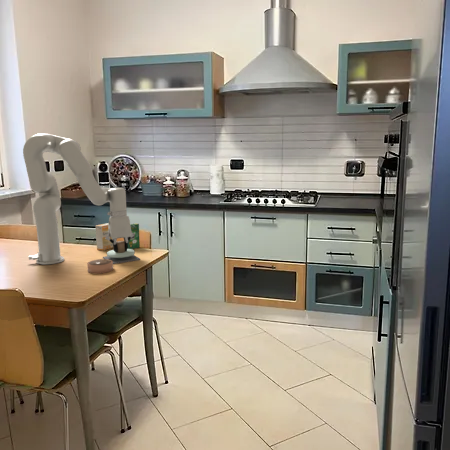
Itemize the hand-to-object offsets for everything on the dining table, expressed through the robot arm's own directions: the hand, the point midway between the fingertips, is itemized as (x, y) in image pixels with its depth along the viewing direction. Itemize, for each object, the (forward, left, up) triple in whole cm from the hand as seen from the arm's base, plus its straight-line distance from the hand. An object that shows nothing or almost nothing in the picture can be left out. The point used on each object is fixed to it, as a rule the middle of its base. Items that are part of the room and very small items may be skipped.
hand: (120, 250), depth 228 cm
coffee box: (+12, +17, -4) cm, 21 cm away
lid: (0, 0, -2) cm, 2 cm away
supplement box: (0, +25, -4) cm, 25 cm away
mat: (0, 0, -4) cm, 4 cm away
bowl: (-14, -13, -4) cm, 19 cm away
